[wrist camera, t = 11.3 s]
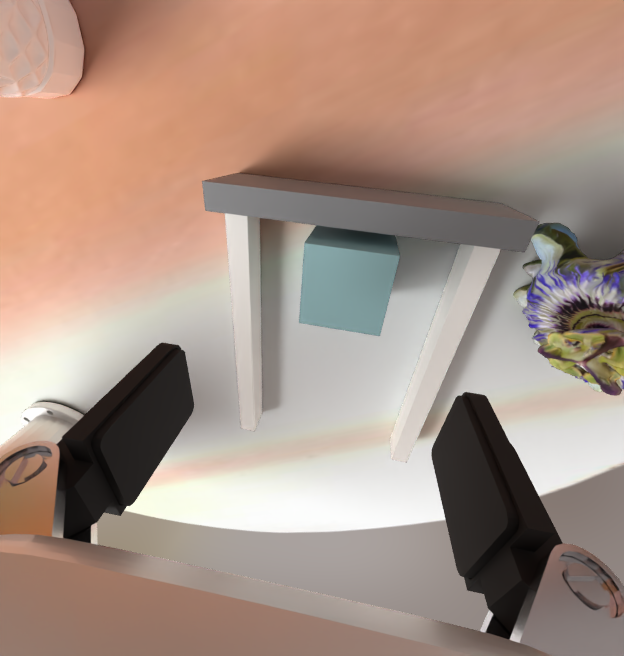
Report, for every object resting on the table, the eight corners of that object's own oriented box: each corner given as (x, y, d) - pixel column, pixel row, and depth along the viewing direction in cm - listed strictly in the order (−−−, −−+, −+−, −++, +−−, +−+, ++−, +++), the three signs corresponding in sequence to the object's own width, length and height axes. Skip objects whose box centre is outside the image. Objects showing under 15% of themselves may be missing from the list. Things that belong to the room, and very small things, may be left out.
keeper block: (378, 293, 23) (379, 335, 18) (314, 284, 23) (299, 322, 18) (393, 227, 20) (400, 256, 15) (321, 218, 21) (304, 243, 16)
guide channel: (404, 440, 31) (409, 487, 27) (249, 410, 33) (231, 449, 28) (501, 203, 18) (539, 221, 14) (237, 173, 20) (202, 181, 16)
